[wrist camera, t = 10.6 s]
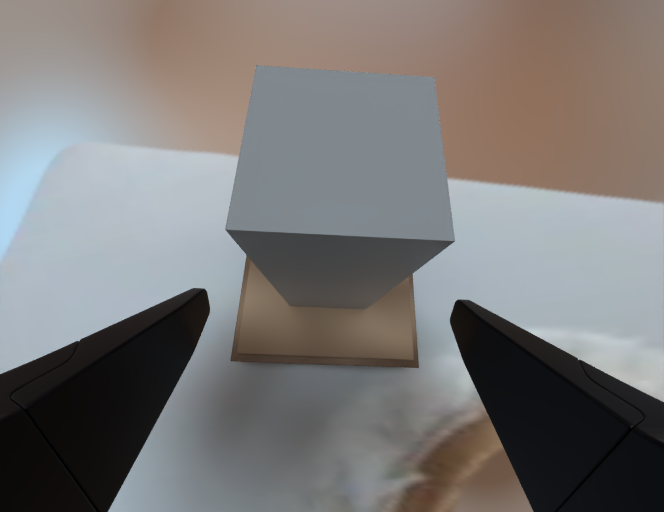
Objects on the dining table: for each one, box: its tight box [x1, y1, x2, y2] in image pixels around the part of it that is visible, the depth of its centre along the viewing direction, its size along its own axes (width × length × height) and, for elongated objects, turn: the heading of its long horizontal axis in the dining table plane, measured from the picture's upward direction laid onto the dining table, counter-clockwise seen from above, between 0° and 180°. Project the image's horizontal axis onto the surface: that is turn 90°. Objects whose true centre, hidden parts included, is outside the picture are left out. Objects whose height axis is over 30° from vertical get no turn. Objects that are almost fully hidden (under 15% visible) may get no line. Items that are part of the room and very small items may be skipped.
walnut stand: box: [231, 256, 419, 368], centre depth 19 cm, size 12×12×3 cm
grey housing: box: [225, 65, 455, 309], centre depth 12 cm, size 5×5×12 cm
